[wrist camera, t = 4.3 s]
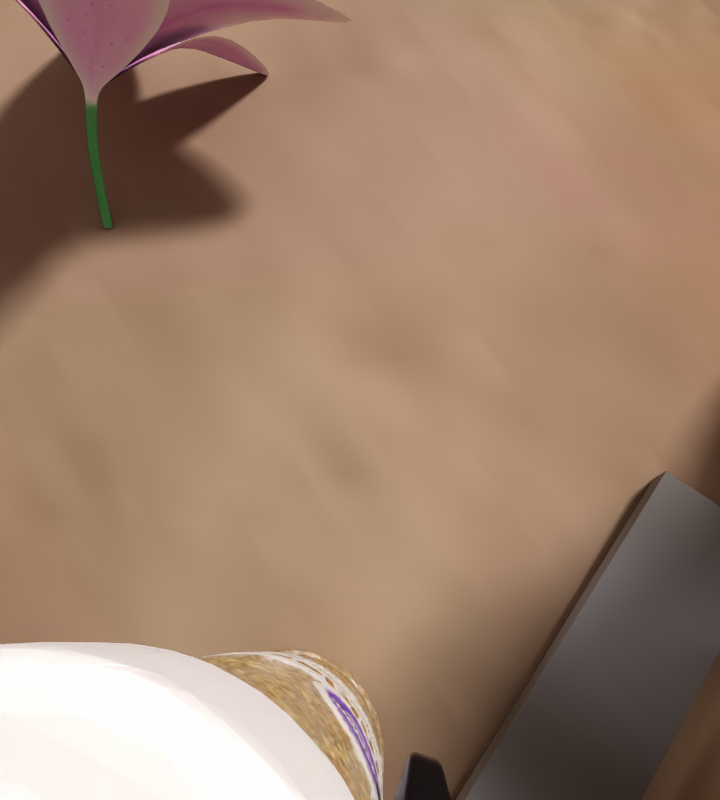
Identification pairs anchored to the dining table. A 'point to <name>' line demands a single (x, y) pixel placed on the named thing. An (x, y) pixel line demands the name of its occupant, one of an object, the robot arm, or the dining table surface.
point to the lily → (150, 41)
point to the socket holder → (626, 673)
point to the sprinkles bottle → (183, 725)
